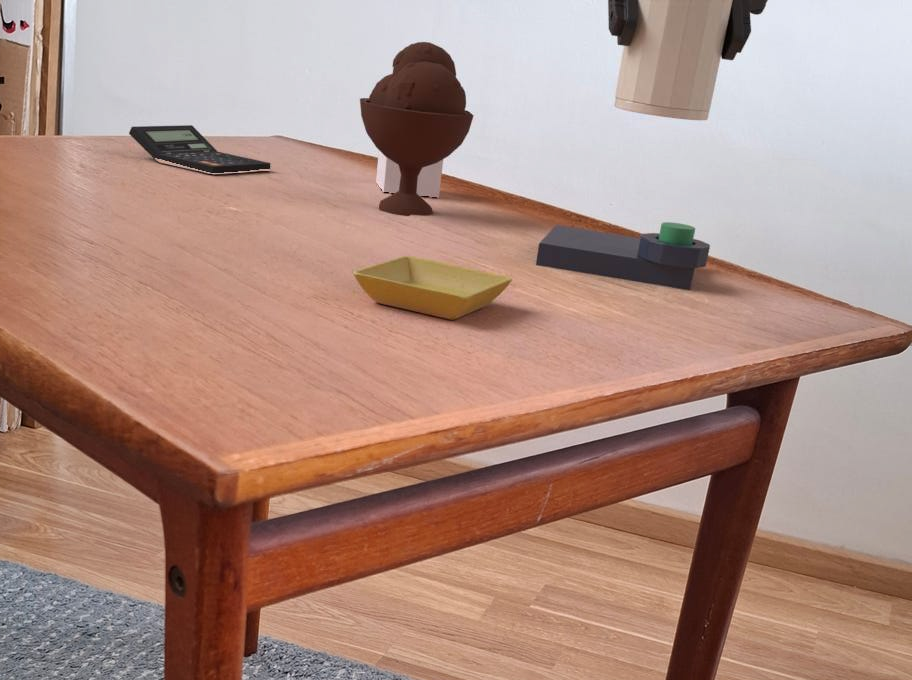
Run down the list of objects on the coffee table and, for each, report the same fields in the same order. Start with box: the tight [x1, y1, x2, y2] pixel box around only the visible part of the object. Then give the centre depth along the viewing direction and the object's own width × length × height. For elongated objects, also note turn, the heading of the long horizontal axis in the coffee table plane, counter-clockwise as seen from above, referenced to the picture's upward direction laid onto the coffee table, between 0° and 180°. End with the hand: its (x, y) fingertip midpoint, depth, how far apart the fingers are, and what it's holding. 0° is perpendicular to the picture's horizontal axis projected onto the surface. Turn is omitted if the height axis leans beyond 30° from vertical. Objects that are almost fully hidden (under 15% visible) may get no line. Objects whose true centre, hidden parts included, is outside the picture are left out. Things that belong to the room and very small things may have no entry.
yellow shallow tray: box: [352, 255, 513, 321], centre depth 86 cm, size 9×9×2 cm
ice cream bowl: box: [359, 41, 474, 217], centre depth 118 cm, size 11×11×15 cm
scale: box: [535, 224, 711, 291], centre depth 107 cm, size 14×12×4 cm
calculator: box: [128, 124, 271, 173], centre depth 132 cm, size 9×12×3 cm
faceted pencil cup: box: [613, 0, 732, 121], centre depth 82 cm, size 6×6×8 cm
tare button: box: [658, 221, 696, 245], centre depth 102 cm, size 3×3×2 cm
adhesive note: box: [375, 150, 444, 199], centre depth 132 cm, size 6×6×6 cm
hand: (680, 43), depth 81 cm, fingers closed on faceted pencil cup, 6 cm apart
